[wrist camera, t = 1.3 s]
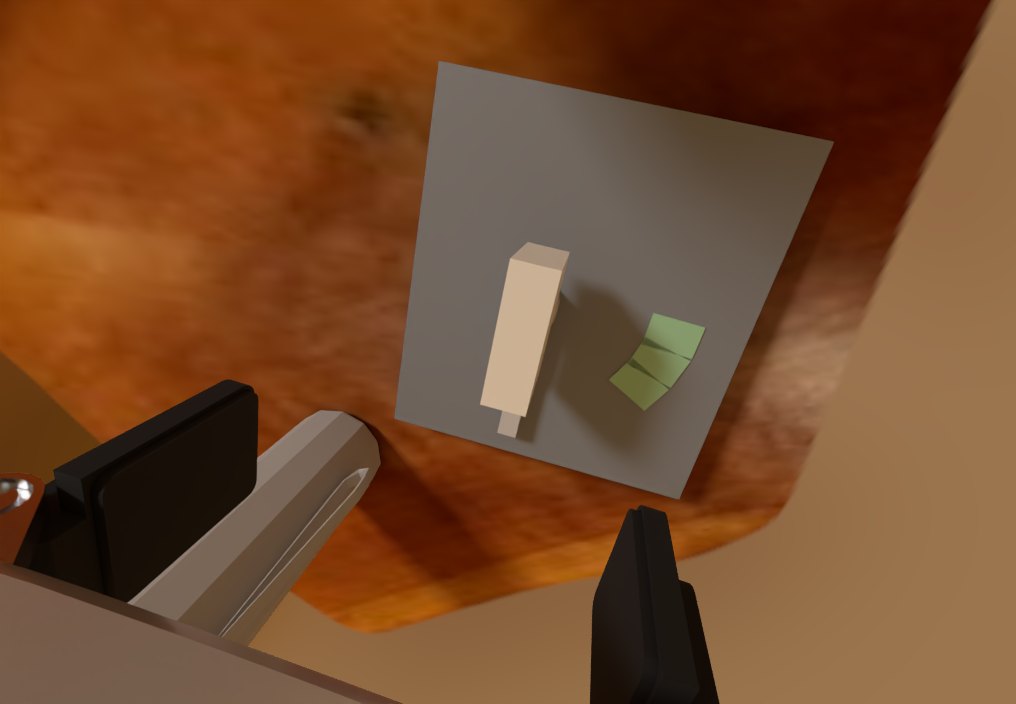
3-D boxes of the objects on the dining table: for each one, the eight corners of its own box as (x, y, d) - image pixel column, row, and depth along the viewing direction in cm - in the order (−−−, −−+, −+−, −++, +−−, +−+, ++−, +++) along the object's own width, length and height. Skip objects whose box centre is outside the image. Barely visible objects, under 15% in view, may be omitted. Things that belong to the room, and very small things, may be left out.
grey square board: (453, 70, 27) (438, 60, 24) (812, 144, 25) (835, 141, 22) (407, 402, 35) (393, 419, 33) (673, 477, 33) (679, 500, 31)
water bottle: (324, 491, 40) (-52, 923, 17) (285, 410, 38) (-212, 782, 15) (421, 476, 37) (133, 958, 14) (385, 388, 35) (-23, 796, 12)
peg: (533, 234, 27) (507, 257, 19) (574, 244, 26) (564, 271, 19) (492, 420, 31) (459, 495, 24) (527, 430, 31) (504, 509, 24)
